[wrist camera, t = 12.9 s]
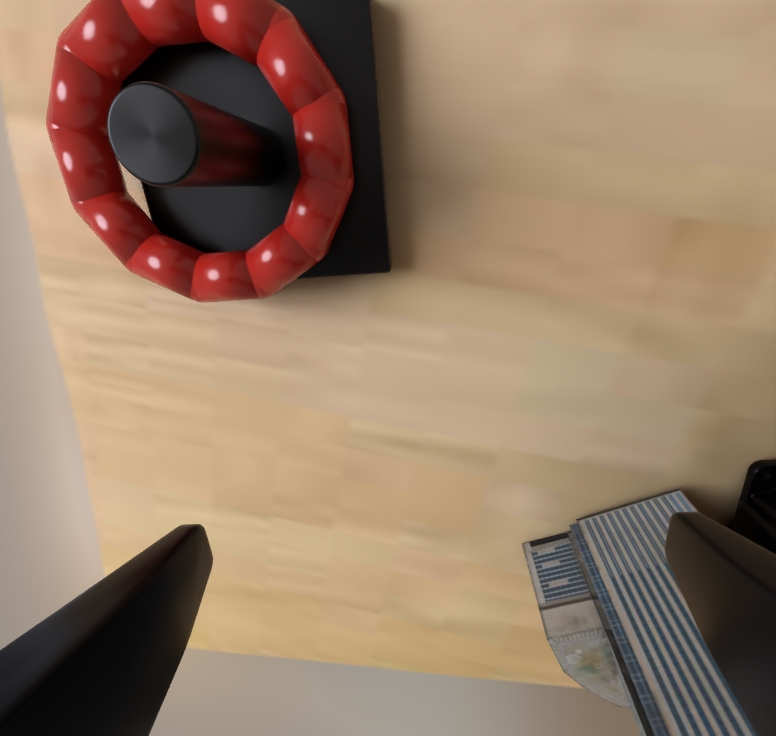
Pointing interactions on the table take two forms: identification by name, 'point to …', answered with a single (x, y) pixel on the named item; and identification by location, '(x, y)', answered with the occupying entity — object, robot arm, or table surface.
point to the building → (631, 621)
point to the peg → (252, 142)
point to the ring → (102, 168)
